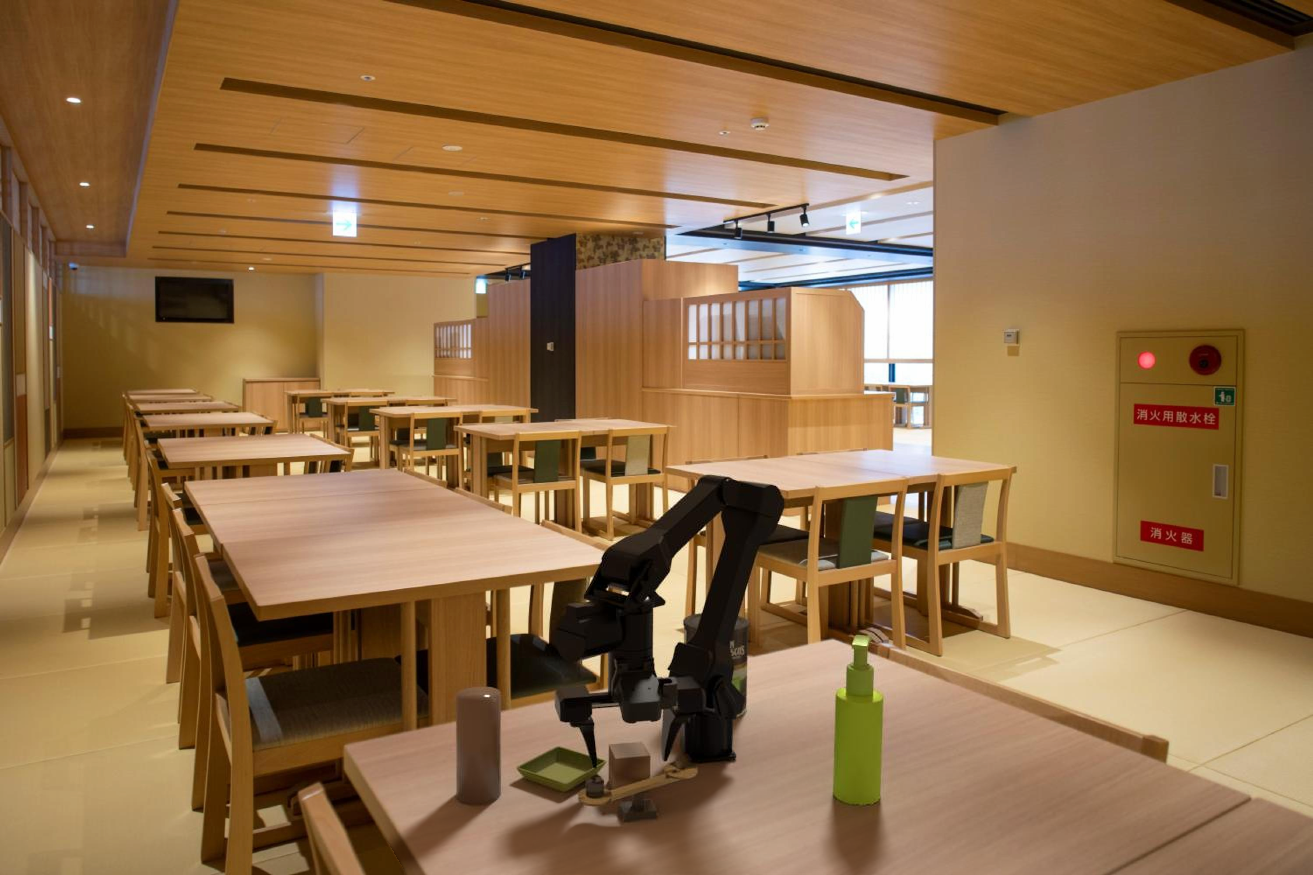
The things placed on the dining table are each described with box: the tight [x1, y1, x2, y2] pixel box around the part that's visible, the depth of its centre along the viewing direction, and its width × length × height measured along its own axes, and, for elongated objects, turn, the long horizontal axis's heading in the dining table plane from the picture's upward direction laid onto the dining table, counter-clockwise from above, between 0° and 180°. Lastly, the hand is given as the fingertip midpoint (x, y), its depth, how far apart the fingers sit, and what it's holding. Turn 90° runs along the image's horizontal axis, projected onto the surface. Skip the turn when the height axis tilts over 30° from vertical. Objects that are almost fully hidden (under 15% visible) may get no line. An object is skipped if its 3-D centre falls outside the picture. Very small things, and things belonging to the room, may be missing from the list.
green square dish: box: [515, 745, 607, 793], centre depth 125 cm, size 9×9×2 cm
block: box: [608, 741, 651, 795], centre depth 122 cm, size 4×4×5 cm
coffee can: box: [682, 612, 750, 718], centre depth 149 cm, size 10×10×14 cm
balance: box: [577, 760, 698, 823], centre depth 115 cm, size 15×4×5 cm, turn 104°
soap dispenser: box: [832, 634, 884, 806], centre depth 120 cm, size 6×7×20 cm
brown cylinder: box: [455, 686, 502, 806], centre depth 119 cm, size 6×6×13 cm
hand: (629, 763), depth 122 cm, fingers open, 9 cm apart
